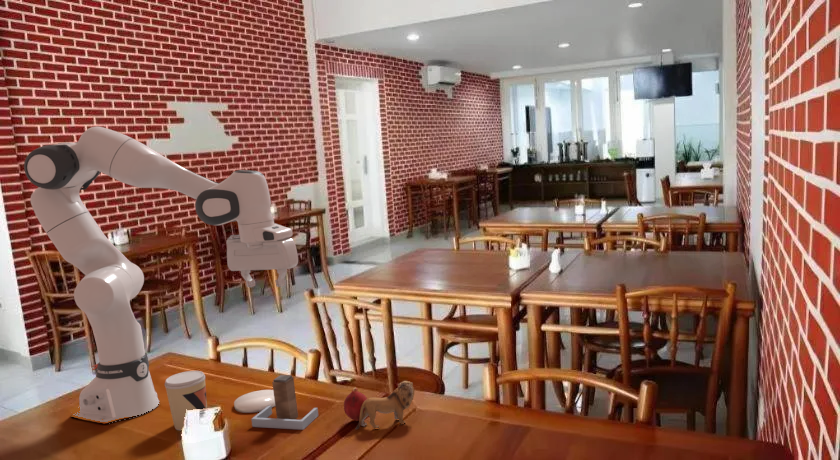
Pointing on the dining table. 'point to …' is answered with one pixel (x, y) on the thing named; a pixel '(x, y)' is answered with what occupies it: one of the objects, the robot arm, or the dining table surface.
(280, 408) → the brown rectangular block
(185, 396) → the coffee cup
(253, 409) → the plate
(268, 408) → the grey u-shaped bracket
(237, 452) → the dining table surface
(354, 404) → the onion
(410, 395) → the lion figurine
